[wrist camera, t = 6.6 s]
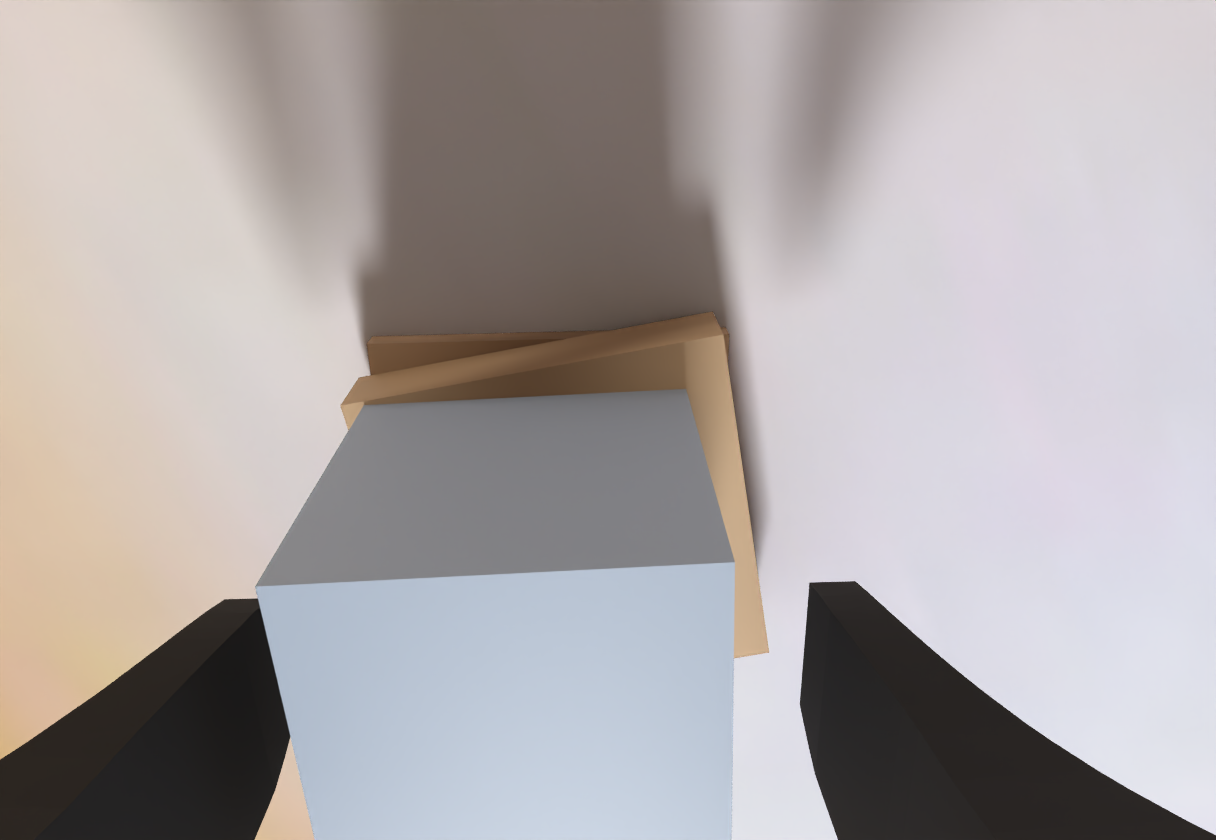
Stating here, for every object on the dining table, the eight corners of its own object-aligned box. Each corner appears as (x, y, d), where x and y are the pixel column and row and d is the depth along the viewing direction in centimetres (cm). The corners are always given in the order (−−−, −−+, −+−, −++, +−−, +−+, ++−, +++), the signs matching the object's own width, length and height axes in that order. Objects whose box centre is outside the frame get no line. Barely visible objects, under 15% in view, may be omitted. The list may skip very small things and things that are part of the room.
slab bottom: (718, 312, 16) (728, 333, 15) (710, 595, 18) (718, 633, 17) (382, 321, 16) (366, 343, 15) (417, 605, 18) (406, 643, 17)
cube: (685, 389, 14) (735, 562, 9) (688, 652, 16) (730, 901, 11) (364, 405, 14) (255, 587, 9) (406, 666, 16) (333, 922, 11)
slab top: (712, 311, 15) (723, 334, 14) (756, 610, 17) (769, 652, 16) (359, 377, 15) (340, 405, 14) (449, 663, 17) (439, 707, 16)
